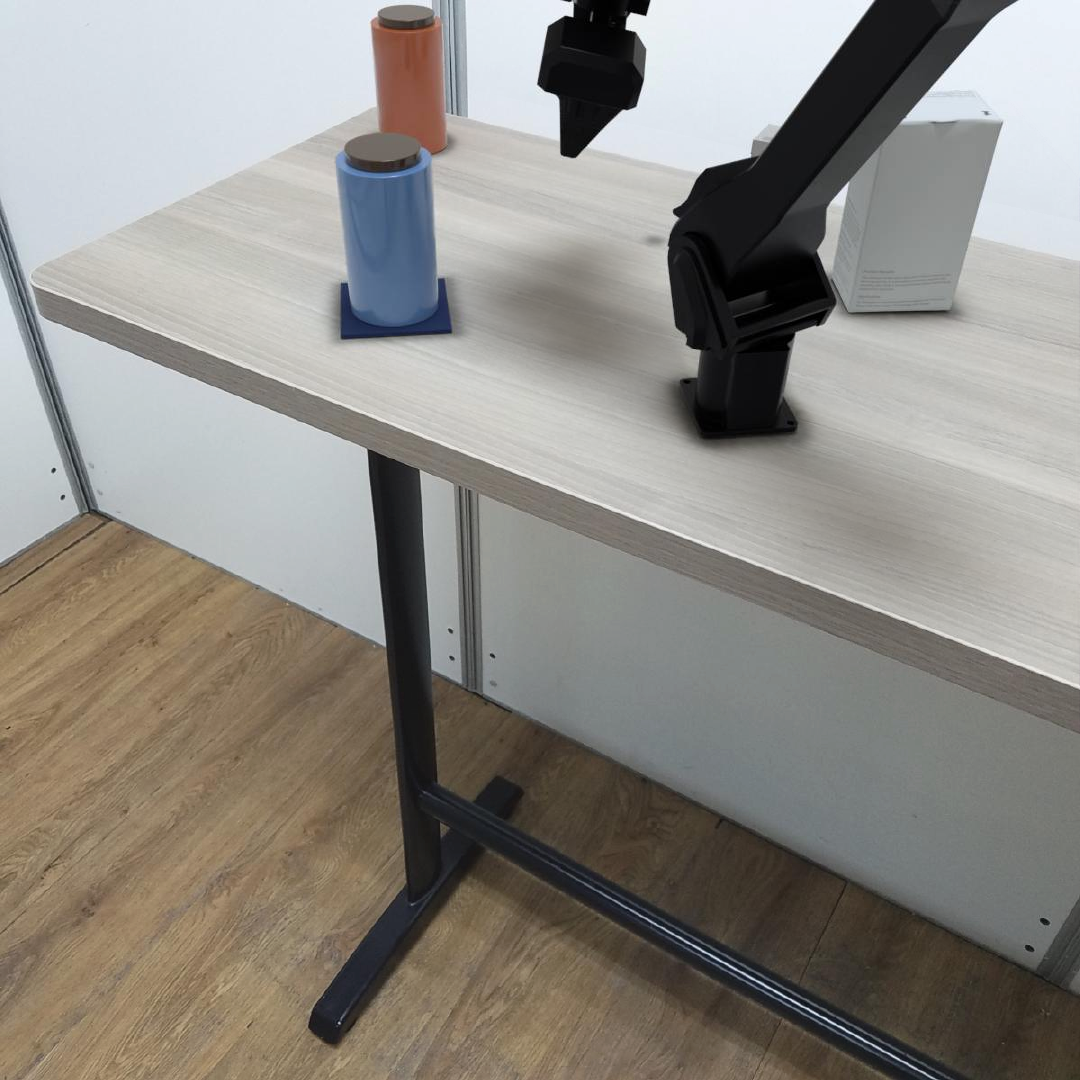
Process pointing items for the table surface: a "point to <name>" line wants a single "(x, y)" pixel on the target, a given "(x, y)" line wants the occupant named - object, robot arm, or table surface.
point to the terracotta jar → (410, 74)
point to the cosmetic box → (916, 206)
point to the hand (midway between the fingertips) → (573, 116)
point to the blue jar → (388, 228)
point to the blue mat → (360, 329)
